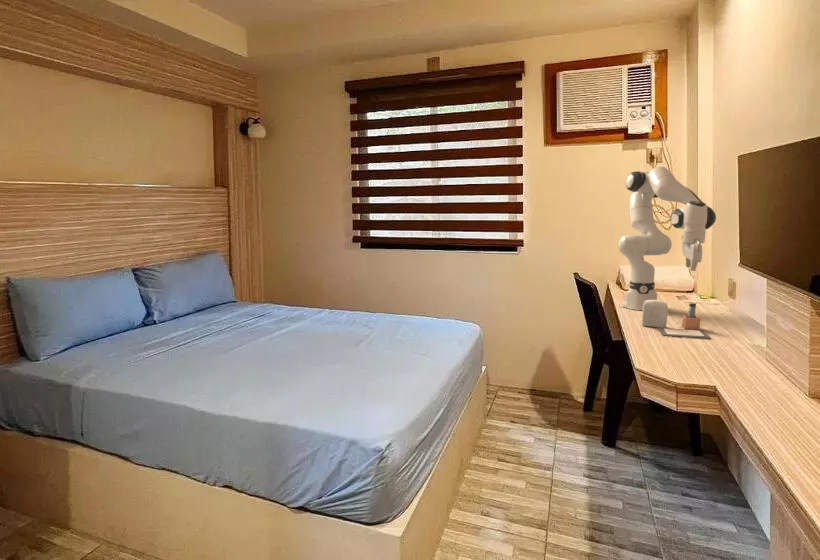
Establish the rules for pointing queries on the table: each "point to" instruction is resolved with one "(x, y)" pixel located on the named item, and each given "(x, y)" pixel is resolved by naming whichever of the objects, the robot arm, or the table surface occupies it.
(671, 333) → the writing board
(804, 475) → the table surface
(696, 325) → the pen holder
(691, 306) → the marker
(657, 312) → the photo printer
